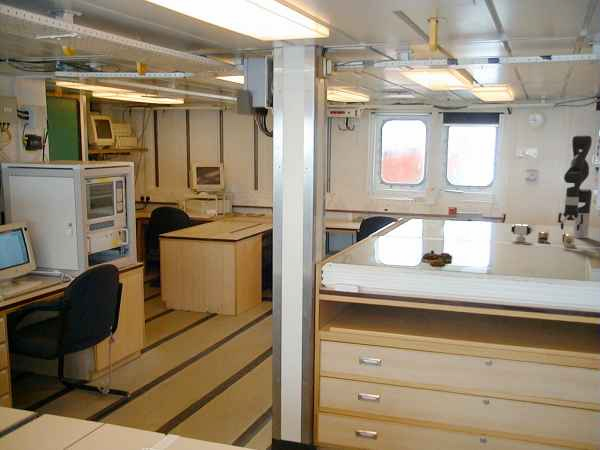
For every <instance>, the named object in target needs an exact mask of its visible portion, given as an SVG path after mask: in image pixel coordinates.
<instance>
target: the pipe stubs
mask: <svg viewBox="0 0 600 450" xmlns="http://www.w3.org/2000/svg"><path fill="white" fill-rule="evenodd" d="M549 233H550V232H549V231H548V230H547V232H545V231H544V232H543V231H539V232H538V236H537V243H542V242H546V243H548V241H549V236H550V234H549ZM565 235H573V234H571V233H565V232H562V241H561V242H562V243H563V245H564V238H565Z"/></svg>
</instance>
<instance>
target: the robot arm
mask: <svg viewBox="0 0 600 450" xmlns="http://www.w3.org/2000/svg"><path fill="white" fill-rule="evenodd" d="M592 140H593V139H592V137H591V135H587V134H586V135H582V134H581V135H580V134H578V135H577V134H575V135H574V136H573V137H572V142H571V145H572V152H573V153H572V154H573V158H572V160H571V163H570V166H569V168H568V169H567V171H566V172H565V174H564V176H563V180H564V181H565V183H567V184H573V185H574V186H569V187H567V188H566V193H565V200H564V201H565V202H564V212H559V213H558V218H557V223H559V224H560V229H561V230H562V231H564V225H565V221H572V222H573V232H572V233H573V235H574V239H575V238H576V239H589V231H590V230H589V228H590V214H591V204H592V203H591V202H592V190H591V189H589V188H587V189H585V188H580V187H581V186H582V184H583V183H584V181H586V179H587V178H588V177H589V174H590V166H589V163H588V161H587V159H586V158H587V156H588V154H589V152H590V149H591V147H592V142H593V141H592ZM579 203H580V204H583V203H584V205H582V206H579ZM562 217H564V218H563V219H562Z"/></svg>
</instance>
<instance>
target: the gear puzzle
mask: <svg viewBox="0 0 600 450" xmlns="http://www.w3.org/2000/svg"><path fill="white" fill-rule="evenodd" d="M452 260H453V255H452V254H450V253H448V252H441V253H440V254H437V253H435V250H433V249H432V250H431V251H430V252H427V253H424V254H423V255H422V257H421V260H420V262H422V263H423V264H424V263H426V264H429V265H432V266H438V267H439V266H441V267H442V266H444V267H445V266H446V265H451V264H452V263H453V261H452Z"/></svg>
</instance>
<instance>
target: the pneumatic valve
mask: <svg viewBox="0 0 600 450" xmlns="http://www.w3.org/2000/svg"><path fill="white" fill-rule="evenodd" d="M532 230H533V227H532V226H530V225H529V224H523V223H519V224H518V223H517V224H516V223H515V224H513V225H512V226H511V230H510V231H511V233H513V235H517V236H516V241H517V242H518V243H524V242H526V237H525V236H529V235H530V234H532V232H533V231H532Z"/></svg>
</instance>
